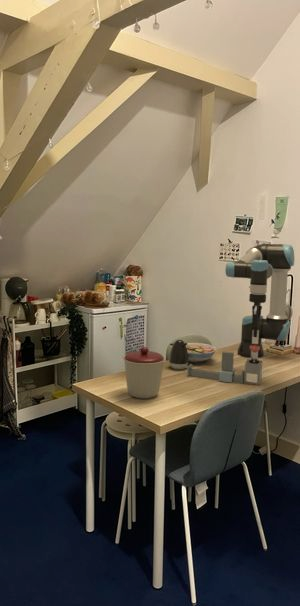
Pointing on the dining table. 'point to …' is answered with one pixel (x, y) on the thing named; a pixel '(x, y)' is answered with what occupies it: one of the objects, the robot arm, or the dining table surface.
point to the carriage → (227, 367)
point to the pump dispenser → (179, 355)
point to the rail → (213, 374)
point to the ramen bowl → (199, 351)
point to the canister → (143, 372)
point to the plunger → (254, 353)
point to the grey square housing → (253, 372)
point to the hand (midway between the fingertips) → (255, 343)
